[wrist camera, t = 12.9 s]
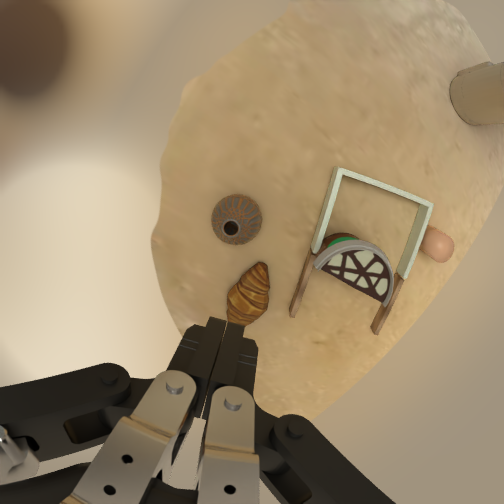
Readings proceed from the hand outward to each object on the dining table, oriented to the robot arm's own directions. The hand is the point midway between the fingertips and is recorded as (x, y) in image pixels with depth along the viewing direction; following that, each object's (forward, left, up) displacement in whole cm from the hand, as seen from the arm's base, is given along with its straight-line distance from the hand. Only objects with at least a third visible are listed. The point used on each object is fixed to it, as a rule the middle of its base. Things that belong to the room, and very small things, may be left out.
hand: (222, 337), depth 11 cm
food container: (+2, +15, -32) cm, 35 cm away
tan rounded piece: (-3, +28, -32) cm, 43 cm away
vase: (+2, -3, -32) cm, 32 cm away
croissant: (+15, +2, -32) cm, 36 cm away
